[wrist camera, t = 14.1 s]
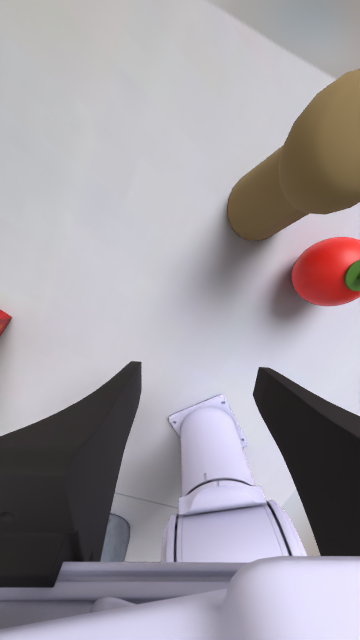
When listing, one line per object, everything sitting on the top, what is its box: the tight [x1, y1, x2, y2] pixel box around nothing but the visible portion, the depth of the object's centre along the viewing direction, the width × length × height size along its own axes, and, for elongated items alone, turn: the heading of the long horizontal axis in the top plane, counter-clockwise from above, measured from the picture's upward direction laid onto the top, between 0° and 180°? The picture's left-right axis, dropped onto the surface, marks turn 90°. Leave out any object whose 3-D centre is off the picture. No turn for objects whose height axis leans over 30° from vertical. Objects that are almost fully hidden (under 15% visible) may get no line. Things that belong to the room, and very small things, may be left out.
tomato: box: [291, 237, 360, 306], centre depth 16 cm, size 6×6×7 cm
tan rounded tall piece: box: [227, 69, 360, 241], centre depth 13 cm, size 6×6×11 cm
